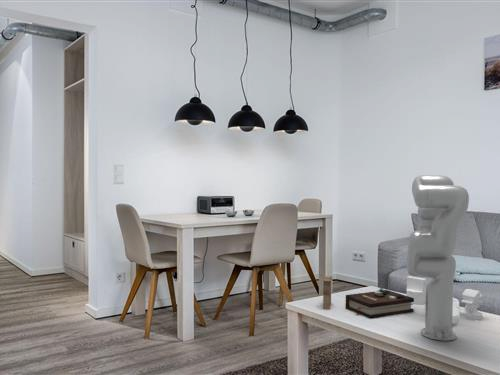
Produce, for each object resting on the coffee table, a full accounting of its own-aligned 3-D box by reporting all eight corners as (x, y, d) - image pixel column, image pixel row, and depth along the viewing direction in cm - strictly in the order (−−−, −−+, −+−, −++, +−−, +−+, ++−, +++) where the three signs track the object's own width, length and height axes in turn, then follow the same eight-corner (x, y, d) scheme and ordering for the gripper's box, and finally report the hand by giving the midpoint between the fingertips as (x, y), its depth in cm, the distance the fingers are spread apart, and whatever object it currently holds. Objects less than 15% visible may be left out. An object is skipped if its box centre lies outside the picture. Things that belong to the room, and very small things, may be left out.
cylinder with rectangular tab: (403, 301, 218) (403, 277, 218) (411, 298, 224) (412, 275, 224) (420, 305, 211) (420, 280, 211) (429, 302, 217) (429, 278, 217)
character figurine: (485, 317, 193) (486, 290, 193) (474, 321, 187) (475, 293, 187) (466, 313, 200) (466, 286, 200) (454, 316, 194) (455, 289, 194)
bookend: (330, 309, 202) (330, 281, 202) (323, 308, 203) (323, 280, 203) (331, 303, 213) (332, 276, 213) (324, 302, 214) (325, 276, 214)
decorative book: (339, 293, 205) (389, 287, 218) (339, 309, 205) (389, 302, 218) (367, 303, 187) (419, 296, 200) (367, 321, 187) (419, 313, 200)
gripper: (447, 230, 199) (447, 270, 199) (408, 228, 203) (407, 268, 203) (451, 231, 192) (450, 273, 192) (410, 230, 196) (409, 271, 196)
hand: (428, 270), depth 198 cm, fingers open, 4 cm apart
